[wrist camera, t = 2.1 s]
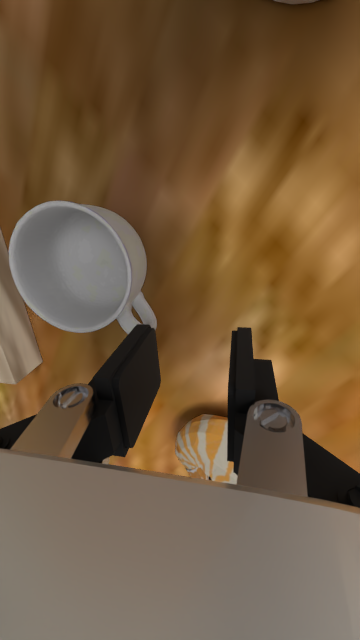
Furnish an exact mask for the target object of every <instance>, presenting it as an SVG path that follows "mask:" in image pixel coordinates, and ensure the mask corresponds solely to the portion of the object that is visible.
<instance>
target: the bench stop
mask: <svg viewBox="0 0 360 640" xmlns="http://www.w3.org/2000/svg"><path fill="white" fill-rule="evenodd" d="M42 362H43V361H42V358H41V354H40V351H39V348H38V345H37V342H36V339H35V336H34V332H33V329H32V326H31V323H30V320H29V317H28V314H27V311H26V307H25V304H24V301H23V298H22V296H21V295H20V293H19V291H18V289H17V287H16V285H15V282H14V279H13V277H12V273H11V270H10V265H9V254H8V251H7V248H6V245H5V241H4V238H3V235H2V232H1V229H0V383H8V384H17V383H18V382H19V381H20V380H21V379H23V378H24V377H25V376H26V375H27V374H29V373H30V372H31V371H32V370H33V369H35V368H36V367H37V366H38V365H39V364H41V363H42Z"/></svg>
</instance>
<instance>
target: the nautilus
mask: <svg viewBox="0 0 360 640" xmlns="http://www.w3.org/2000/svg"><path fill="white" fill-rule="evenodd" d="M227 431H228V418H226V417H221V416H216V415H207V414H202V415H200V416H198V417H196V418H194V419H192V420H191V421H189V422H188V423H186V424H185V425H184V426H183V428H182V429H181V430H180V431H179V432H178V435H177V438H176V445H175V453H176V456H177V458H178V460H179V461H180V462H181V463H182V464H183V465H184V466H185V468H186V470H187V471H188V473H189V476H190V477H192V478H198V479H204V480H211V481H217V482H223V483H229V484H237V477H238V476H237V475H236V474H235V473H233V468H234V462H230V461H227Z"/></svg>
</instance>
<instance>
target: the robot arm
mask: <svg viewBox="0 0 360 640" xmlns="http://www.w3.org/2000/svg"><path fill="white" fill-rule="evenodd" d="M273 1H277V2H282V3H288V4H302V3H312V2H315V1H318V0H273ZM160 382H161V378H160V369H159V360H158V351H157V342H156V333H155V329H154V328H151V326H150V325H148V324H137V325H136V326H135V327H134V328H133V329H132V331H131V332H130V333H129V334H128V336H127V337H126V338H125V339H124V340H123V342H122V343H121V344H120V345H119V346H118V348H117V349H116V350H115V351H114V353H113V354H112V355H111V356H110V357H109V359H108V360H107V361H106V362H105V364H104V365H103V366H102V367H101V368H100V370H99V371H98V372H97V373H96V374H95V376H94V377H93V379H92V380H91V381H90V383H89V384H88V385H87V384H81V383H79V384H72V385H68V386H66V387H63V388H61V389H59V390H58V391H56V392H55V393H54V394H53V395H52V396H51V397H50V398H49V400H48V401H47V402H46V404H45V405H44V406H43V407H42V409H41V410H40V411H39V413H38V414H36V415H34V416H31V417H29V418H26V419H24V420H21V421H19V422H16V423H14V424H12V425H9V426H7V427H4V428H2V429H0V640H360V474H359V473H358V472H357V471H355V470H354V469H352V468H351V467H349V466H348V465H347V464H345V463H344V462H342V461H341V460H340V459H338V458H337V457H335V456H334V455H333V454H331V453H330V452H328V451H327V450H325V449H324V448H323V447H321V446H320V445H318V444H317V443H316V442H314V441H313V440H311V439H310V438H308V437H307V436H306V435H304V434H303V433H302V423H301V419H300V416H299V414H298V413H297V412H296V411H295V410H294V409H293V408H292V407H290V406H289V405H287V404H285V403H283V402H280V401H279V400H278V394H277V389H276V383H275V378H274V372H273V367H272V362H271V360H262V359H253V347H252V333H251V328H241V327H238V330H237V331H232V340H231V354H230V368H229V382H228V431H227V461H230V462H234V468H233V473H235V474H236V475H237V476H238V477H237V484H229V483H223V482H217V481H211V480H204V479H198V478H192V477H186V476H179V475H173V474H167V473H160V472H154V471H147V470H141V469H135V468H128V467H122V466H115V465H109V457H110V456H112V455H114V456H121V457H125V456H126V454H127V451H128V449H129V448H133V447H134V445H135V443H136V440H137V438H138V436H139V433H140V431H141V429H142V426H143V424H144V422H145V419H146V417H147V415H148V412H149V410H150V408H151V406H152V403H153V401H154V399H155V396H156V394H157V392H158V389H159V387H160Z"/></svg>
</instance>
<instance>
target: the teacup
mask: <svg viewBox="0 0 360 640" xmlns="http://www.w3.org/2000/svg"><path fill="white" fill-rule="evenodd" d="M9 265H10V270H11V273H12V277H13V279H14V282H15V285H16V287H17V289H18V291H19V293H20V295H21V296H22V298H23V299H24V301H25V302H26V303H27V305H28V306H29V307H30V308H31V309H32V310H33V311H34V312H35V313H36V314H37V315H38V316H40V317H41V318H42V319H43V320H45V321H47V322H48V323H50V324H51V325H53V326H55V327H57V328H60V329H62V330H65V331H70V332H76V333H85V332H92V331H96V330H99V329H101V328H103V327H105V326H107V325H108V324H110V323H111V322H113V321H114V320H115V319H117V320H118V322H119V324H120V326H121V327H122V328H123V330H124V331H125V332H126V333H127V334H129V333H130V332H131V331H132V329H133V328H134V327H135V326H136V325H137V324H141V323H140V322H139V321H137V320H136V318H135V317H134V316H133V314H132V312H131V308H132V306H133V307H134V309H135V310H136V312H137V313H138V315H139V316H140V318H141V320H142V322H143V324H148V325H150V326H151V328H154V329H155V330H156V327H157V320H156V317H155V314H154V312H153V311H152V309H151V307H150V306H149V304H148V303H147V301H146V300H145V298H144V295H143V293H142V292H141V288H142V286H143V284H144V281H145V277H146V271H147V259H146V254H145V249H144V246H143V244H142V241H141V239H140V237H139V236H138V234H137V233H136V231H135V230H134V228H133V227H132V226H131V225H130V224H129V223H128V222H127V221H126V220H125V219H123V218H122V217H121V216H119V215H118V214H116V213H114V212H112V211H110V210H107V209H105V208H102V207H98V206H93V205H85V204H77V203H74V202H69V201H49V202H46V203H42V204H40V205H38V206H35V207H34V208H33V209H31V210H30V211H28V212H27V213H26V214H25V215H24V216H23V217H22V218H21V219H20V220H19V221H18V223H17V224H16V227H15V229H14V231H13V233H12V236H11V239H10V246H9Z"/></svg>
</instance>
